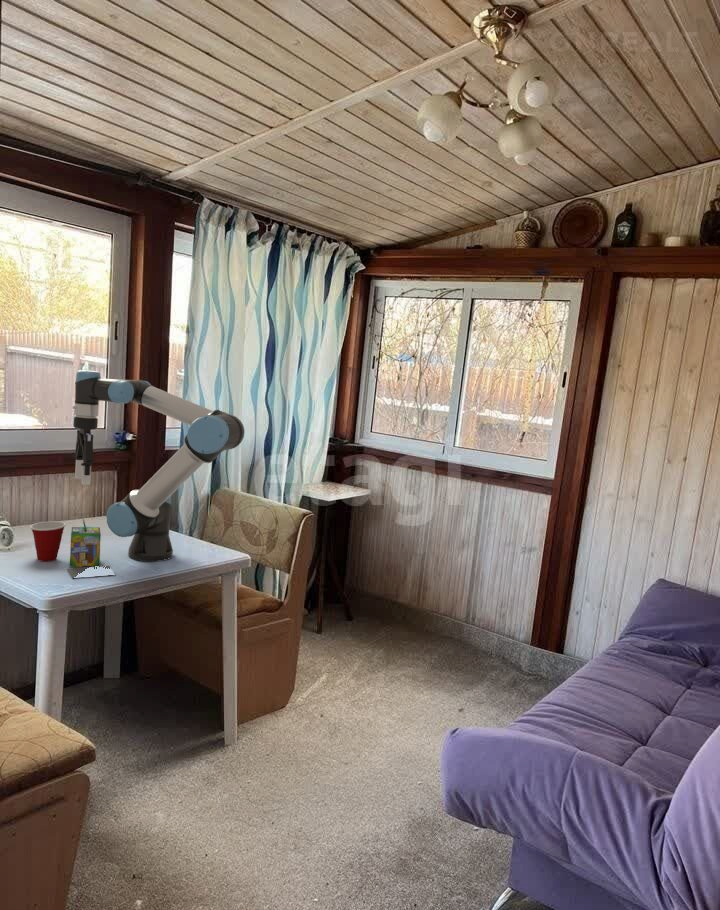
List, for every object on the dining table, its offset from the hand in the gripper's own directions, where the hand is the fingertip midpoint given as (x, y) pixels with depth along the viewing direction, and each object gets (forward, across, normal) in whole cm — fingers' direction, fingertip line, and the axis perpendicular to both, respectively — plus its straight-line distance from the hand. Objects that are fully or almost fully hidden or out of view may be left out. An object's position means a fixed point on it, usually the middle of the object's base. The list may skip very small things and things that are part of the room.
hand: (82, 481), depth 233 cm
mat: (+26, +20, 0) cm, 33 cm away
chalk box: (+26, +10, 0) cm, 28 cm away
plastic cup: (+26, +3, -11) cm, 28 cm away
